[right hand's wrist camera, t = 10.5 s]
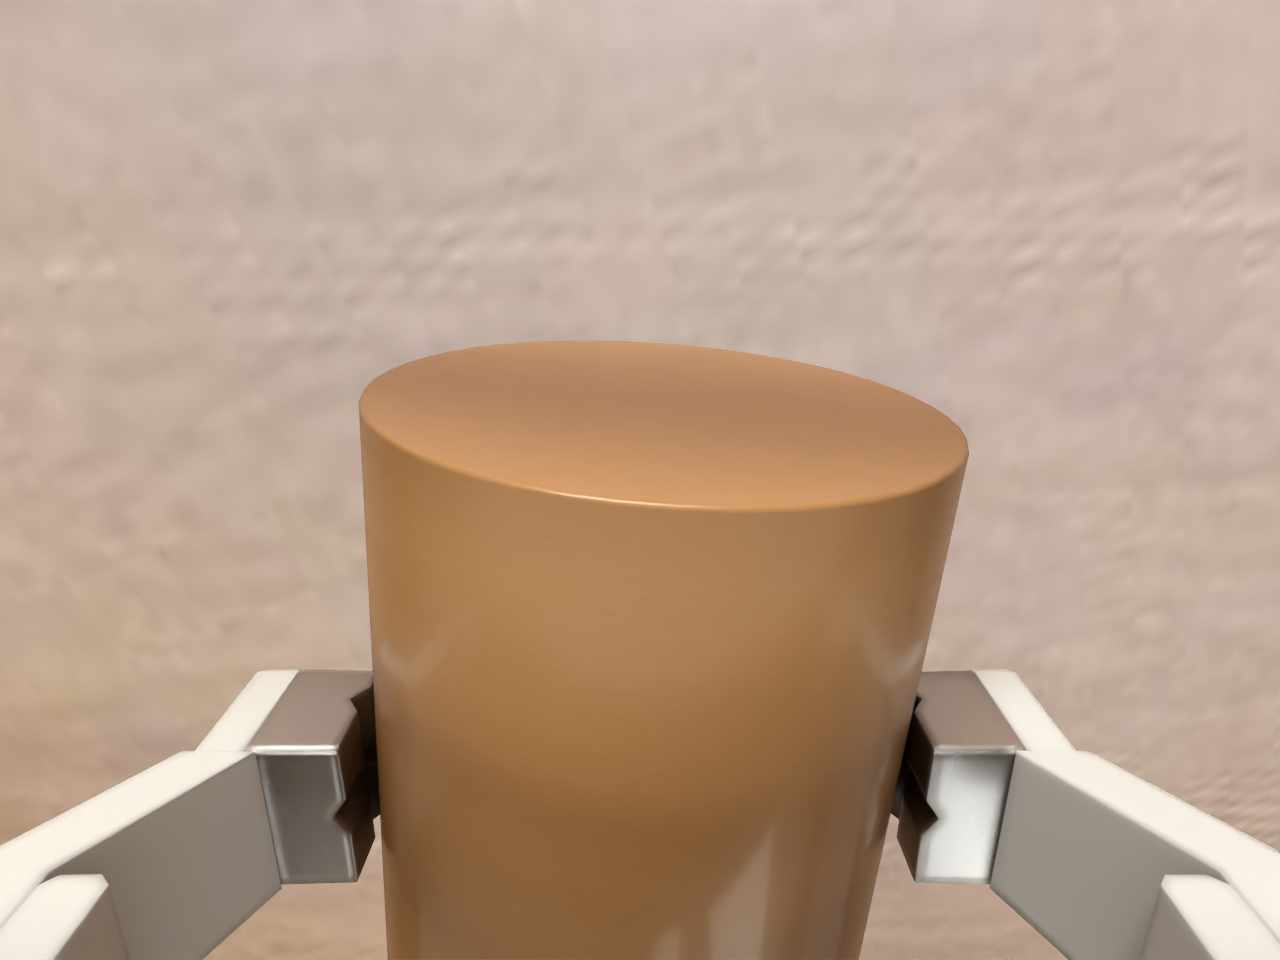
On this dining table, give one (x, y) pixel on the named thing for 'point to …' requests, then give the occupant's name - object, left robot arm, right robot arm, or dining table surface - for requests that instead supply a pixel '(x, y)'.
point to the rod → (644, 646)
